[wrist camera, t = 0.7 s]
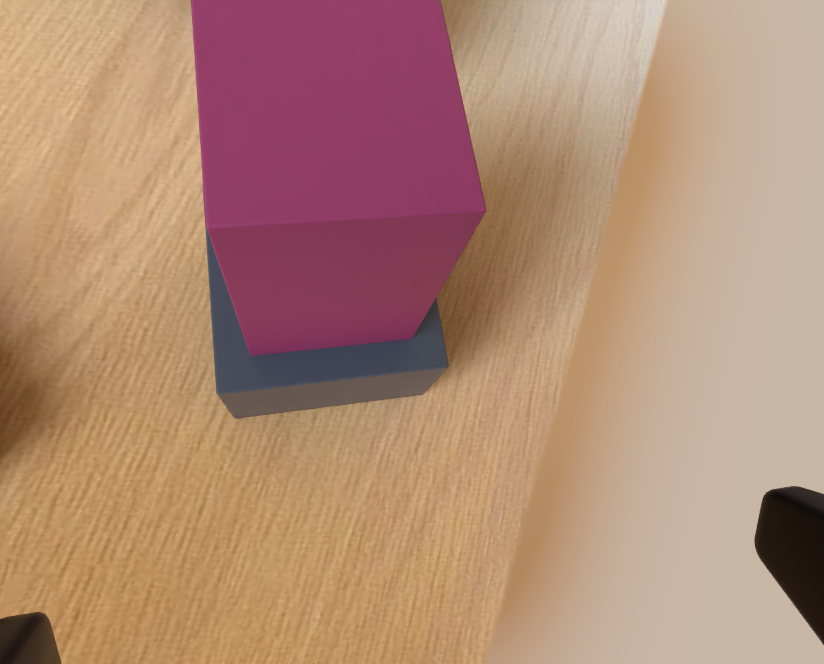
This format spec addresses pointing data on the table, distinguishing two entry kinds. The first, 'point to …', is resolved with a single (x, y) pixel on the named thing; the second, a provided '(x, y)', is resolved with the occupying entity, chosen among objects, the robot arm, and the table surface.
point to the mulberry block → (332, 165)
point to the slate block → (316, 364)
